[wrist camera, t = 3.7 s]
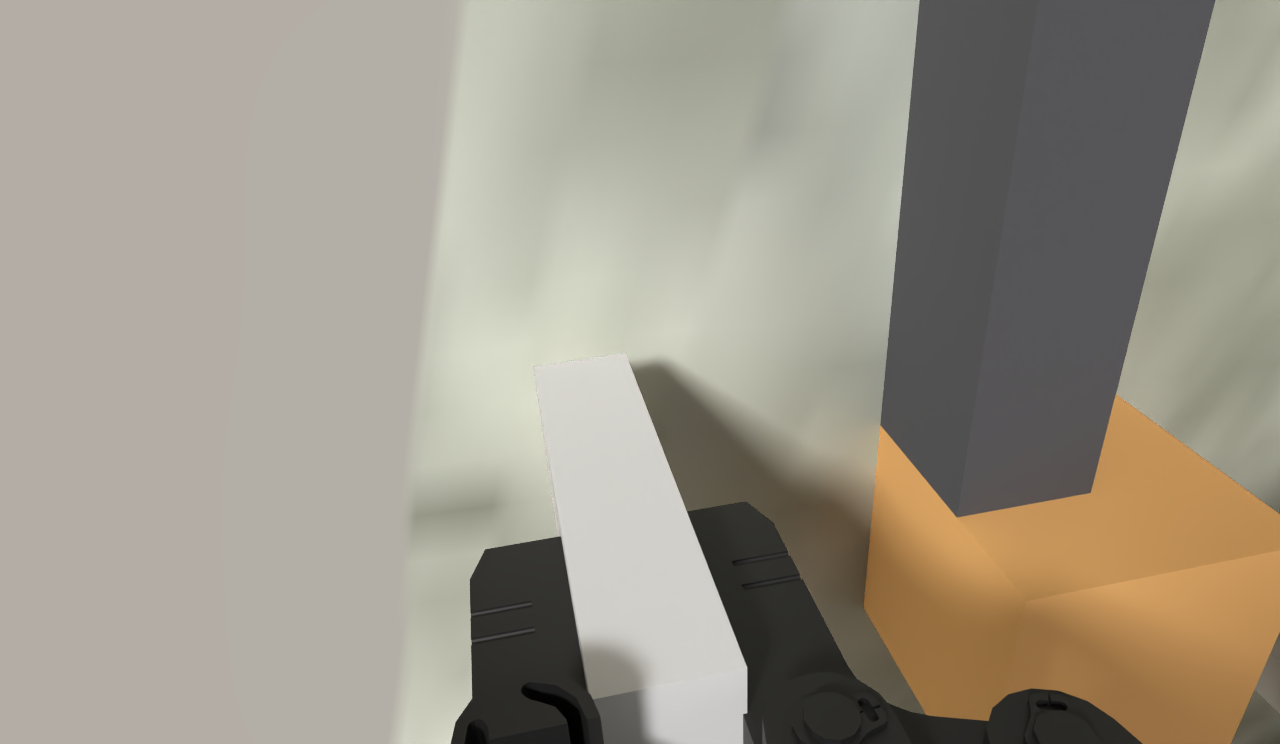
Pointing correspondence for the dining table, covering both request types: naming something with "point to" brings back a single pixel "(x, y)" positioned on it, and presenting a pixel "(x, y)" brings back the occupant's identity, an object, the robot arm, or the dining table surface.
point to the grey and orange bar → (1052, 387)
